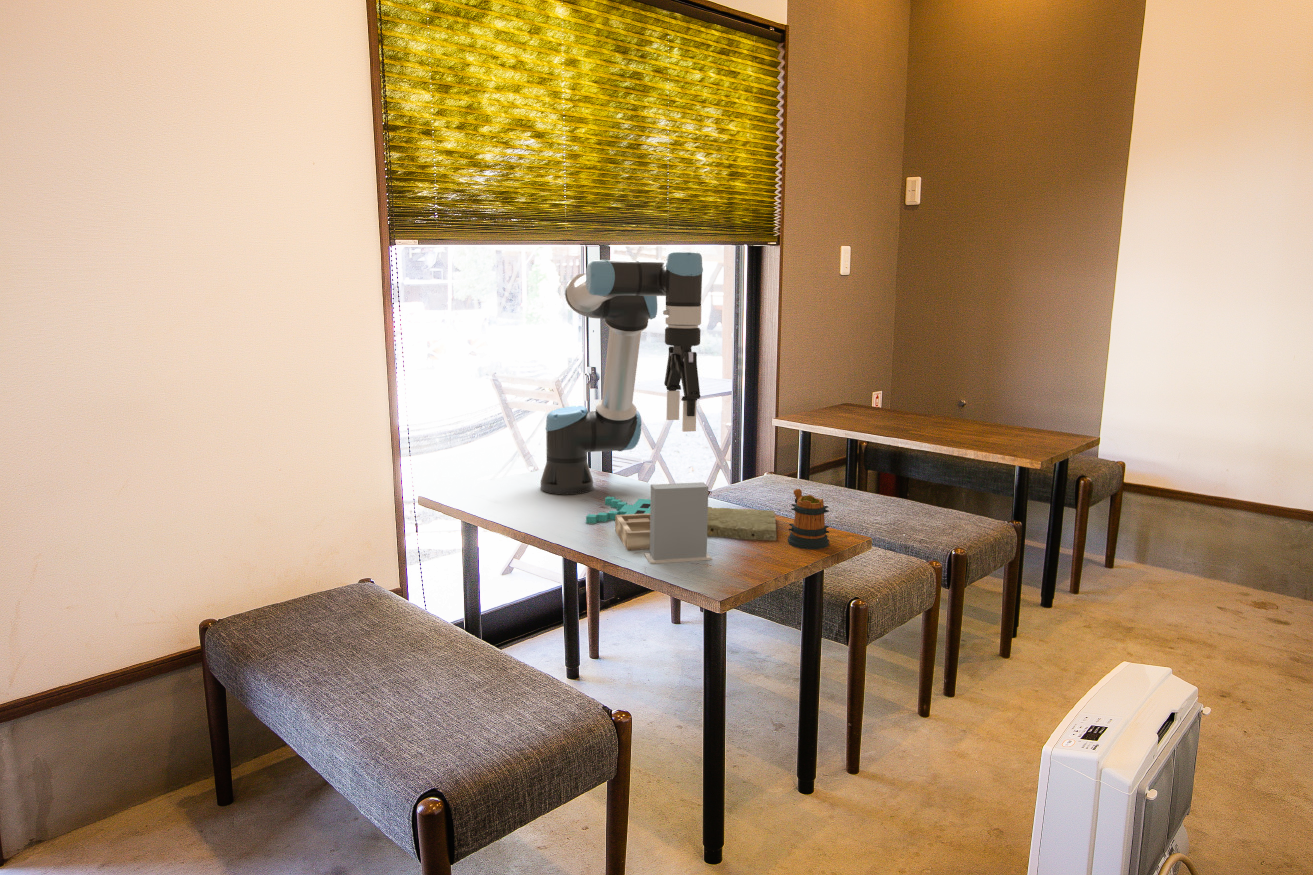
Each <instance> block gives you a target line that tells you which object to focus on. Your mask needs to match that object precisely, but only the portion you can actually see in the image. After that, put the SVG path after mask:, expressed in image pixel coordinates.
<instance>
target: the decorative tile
mask: <svg viewBox="0 0 1313 875" xmlns="http://www.w3.org/2000/svg"><path fill="white" fill-rule="evenodd" d="M707 537H719V538H720V537H722V538H729V539H730V538H732V539H735V540H736V539H737V540H753V541H754V540H756V541H757V540H759V541H777V523H776V512H775V510H765V509H764V510H762V509H753V508H751V509H750V508H747V509H746V508H731V507H729V508H728V507H711V506H708V521H707Z"/></svg>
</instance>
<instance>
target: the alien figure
mask: <svg viewBox="0 0 1313 875" xmlns="http://www.w3.org/2000/svg"><path fill="white" fill-rule="evenodd" d="M650 501H651V498H649V499H647V498H638V499H637V500H636V501H635V503H634V504H628V502H626V501H622V499H617V498H616V496H606V497H605V498H604V505H605V506H610V508H613V509H616V510H609V511H608V512H600V511H599V512H598V513H597V514H595V513H594V514H593V513H588V514H587V515H586V517H585V523H586V524H596V523H597V522H600V523H601V522H603V523H606V522H607V521H615V515H626V514H645V513H650Z"/></svg>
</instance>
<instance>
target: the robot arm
mask: <svg viewBox="0 0 1313 875" xmlns="http://www.w3.org/2000/svg"><path fill="white" fill-rule="evenodd" d="M703 272H704V269H703V257H702V254H701V253H700V252H698V251H697V252H695V251H669V252H668V253H667V255H666V260H616V259H615V260H614V259H613V260H612V259H611V260H610V259H597V260H596V259H595V260H590V261H589V262H588V263H587V267H586V269H585V273H579V274H577V275H575V276H574V277H572V278H571V279H570V280H569V281H568V282H567V285H566V287H565V290H564V291H565V292H564V295H565V301H566V303H567V304H568V307H570V309H571V310H572V311H574V312H575V313H577V314H578V315H581V316H583V317H585V318H586V317H587V318H590V319H604V323H605V325H606V326H607V327H608V328H609V332H608V341H607V348H606V349H607V351H606V352H607V353H606V358H605V359H606V360H605V369H604V370H605V371H604V379H603V388H602V389H603V391H602V399H601V400H599V401H598V402H597V404H596V405H595V411H593V410H592V411H589V410H588V408H587V406H583V405H578V406H576V405H574V406H573V405H571V406H566V407H565V406H564V407H560V408H556V409H554V410H551V411H550V412H548V413H547V416H546V422H545V433H546V434H545V435H546V443H545V444H546V446H545V447H546V450H545V451H546V453H545V454H546V463H545V467H544V469H543V472H542V476H541V479H540V490H541V491H542V492H545V493H547V494H548V493H549V494H553V495H578V494H585V493H588V492H591V491H593V489H594V480H593V476H592V472H591V470H590V466H589V463H588V453H592V452H593V453H595V452H596V453H597V452H623V451H631V450H632V449H635V448H636V446H637V445H638V444H639V441H640V438H641V435H642V427H641V426H642V417H641V413H640V412H639V411H638V410H637V407H636V405H635V404H634V403H633V400H634V393H635V392H634V391H635V384H636V376H637V368H638V362H639V361H638V360H639V352H640V351H639V350H640V344H641V336H642V332H643V331H645V330H646V329H647V328H648V326H649V320H653V319H656V317H657V314H658V298H657V297H665V310H663V311H662V313H663V315H664V316H665V325H667V326H666V327H665V328H664V344H665V345H667V346H668V358H667V364H666V370H665V377H664V386H665V388H666V421H679V420H680V401H681V402H682V426H681V427H682V428H681V429H682V430H681V431H682V432H687V433H688V432H697V401H698V399H699V400H700V399H701V392H700V391H701V390H700V381H699V371H698V361H697V360H698V359H697V358H698V357H697V356H698V353H697V352H696V351H692V347H696V346H700V344H701V332H702V330H701V329H700V327H699V326H701V324H702V289H703ZM681 385H682V387H681ZM680 390H682V391H683V396H682V397H681V398H680V395H681V392H680ZM680 399H681V400H680Z"/></svg>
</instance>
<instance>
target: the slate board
mask: <svg viewBox="0 0 1313 875" xmlns="http://www.w3.org/2000/svg"><path fill="white" fill-rule="evenodd" d="M650 499H651V501H650V549H649V553H650V555H651V557H652V558H653V560H664V559H680V558H696V557H707V553H708V551H707V550H708V548H707V547H708V536H707V521H708V507H709V485H707V484H706V483H705V482H702V481H701V482H680V483H677V482H676V483H660V484H658V483H657V484H656V483H655V484H650Z"/></svg>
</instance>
